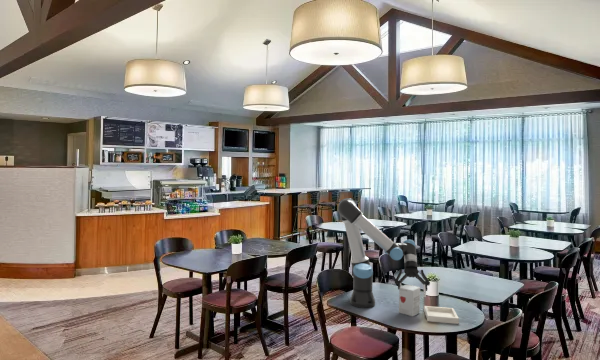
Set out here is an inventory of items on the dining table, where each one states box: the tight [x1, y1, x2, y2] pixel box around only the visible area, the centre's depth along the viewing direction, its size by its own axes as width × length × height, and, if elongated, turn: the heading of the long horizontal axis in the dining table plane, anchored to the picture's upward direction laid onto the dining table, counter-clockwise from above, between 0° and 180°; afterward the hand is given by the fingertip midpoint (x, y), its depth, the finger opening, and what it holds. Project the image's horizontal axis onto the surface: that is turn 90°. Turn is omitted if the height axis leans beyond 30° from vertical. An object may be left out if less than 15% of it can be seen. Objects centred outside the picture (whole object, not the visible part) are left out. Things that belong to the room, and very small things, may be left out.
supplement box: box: [398, 284, 421, 317], centre depth 226 cm, size 9×9×15 cm
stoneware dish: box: [423, 305, 460, 325], centre depth 220 cm, size 16×16×3 cm
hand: (413, 295), depth 229 cm, fingers open, 13 cm apart
